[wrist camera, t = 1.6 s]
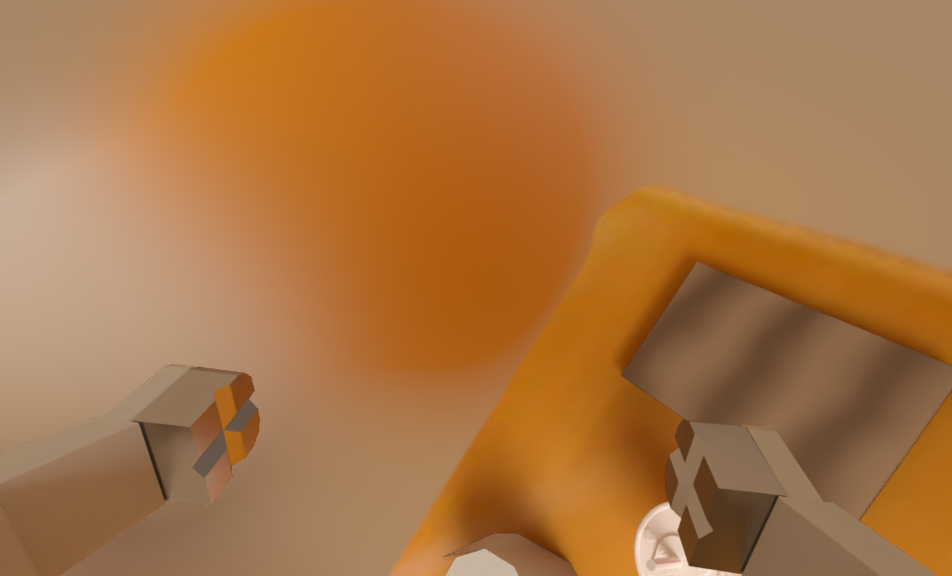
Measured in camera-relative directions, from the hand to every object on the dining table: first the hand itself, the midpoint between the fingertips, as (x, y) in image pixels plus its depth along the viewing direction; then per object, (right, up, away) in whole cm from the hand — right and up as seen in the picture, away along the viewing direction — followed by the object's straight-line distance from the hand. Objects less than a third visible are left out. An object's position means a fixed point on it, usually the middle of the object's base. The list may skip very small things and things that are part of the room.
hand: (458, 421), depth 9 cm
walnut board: (+23, -5, +28) cm, 36 cm away
